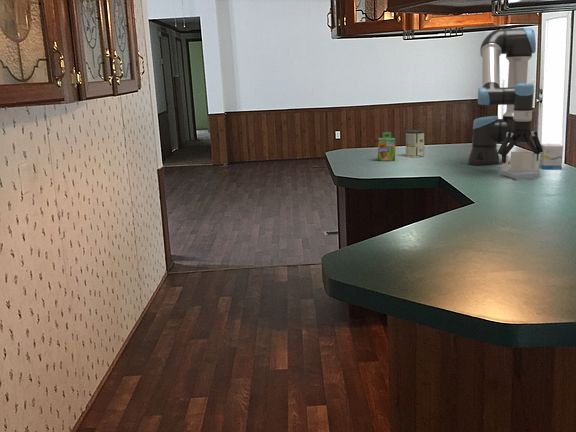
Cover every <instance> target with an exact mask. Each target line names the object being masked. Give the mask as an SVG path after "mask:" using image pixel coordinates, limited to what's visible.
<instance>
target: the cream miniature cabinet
mask: <svg viewBox="0 0 576 432" xmlns="http://www.w3.org/2000/svg"><path fill="white" fill-rule="evenodd" d="M425 132H426V130H424V129H406V130H405V157H406V156H408V157H407V158H421V157H420V156H423V157H425Z"/></svg>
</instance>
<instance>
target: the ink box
mask: <svg viewBox="0 0 576 432" xmlns="http://www.w3.org/2000/svg"><path fill="white" fill-rule="evenodd" d="M540 144H541V146H542V149H543V152H540V154H539V169H541V170H543V171H545V170H547V171H548V170H549V171H551V170H552V171H553V170H554V171H555V170H557V171H558V170H559V171H561V170H562V169H563V167H562V166H563V153H564V146H563V145H562V144H561V143H540Z"/></svg>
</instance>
